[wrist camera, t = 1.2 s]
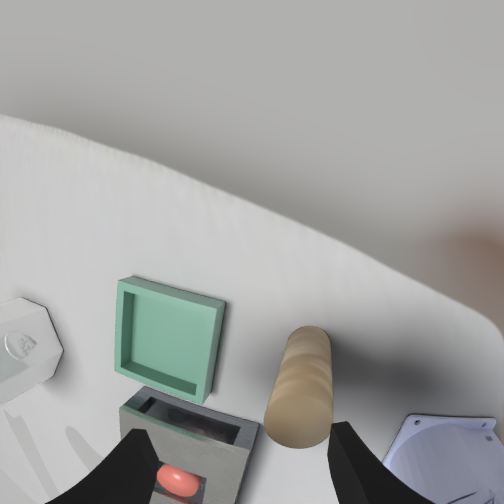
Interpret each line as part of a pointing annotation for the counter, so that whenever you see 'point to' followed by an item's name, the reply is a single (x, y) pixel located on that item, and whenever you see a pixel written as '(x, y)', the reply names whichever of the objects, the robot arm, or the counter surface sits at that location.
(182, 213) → the counter surface
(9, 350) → the jar
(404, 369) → the counter surface
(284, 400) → the dowel
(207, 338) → the tray
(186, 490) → the button
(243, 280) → the counter surface
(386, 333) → the counter surface
